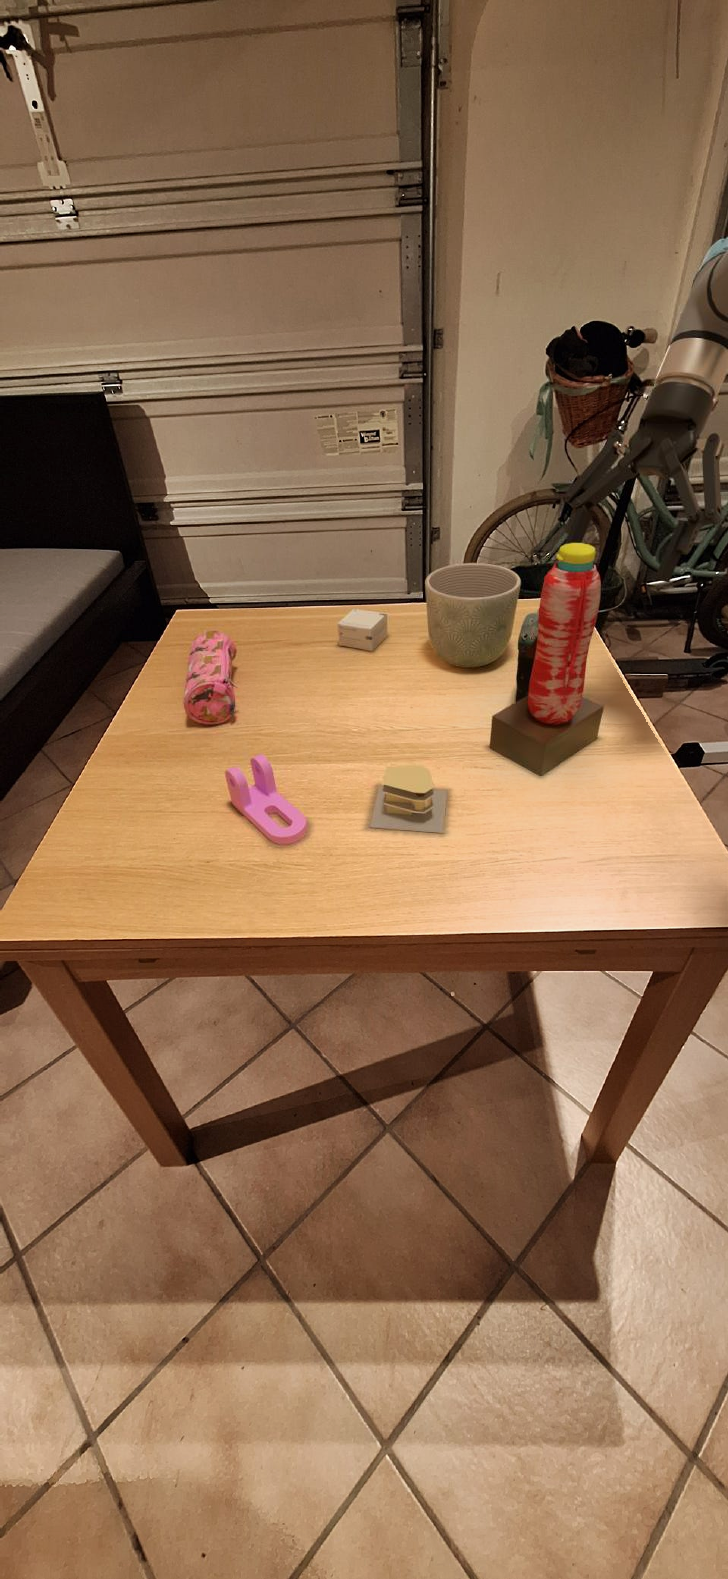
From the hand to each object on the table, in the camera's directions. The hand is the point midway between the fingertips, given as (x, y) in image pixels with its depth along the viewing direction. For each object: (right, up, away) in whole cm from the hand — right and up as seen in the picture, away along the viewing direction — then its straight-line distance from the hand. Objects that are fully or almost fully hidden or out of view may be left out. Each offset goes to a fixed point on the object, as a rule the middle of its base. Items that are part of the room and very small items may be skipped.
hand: (611, 569), depth 82 cm
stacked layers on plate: (-26, -31, +8) cm, 41 cm away
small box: (-32, +2, +49) cm, 58 cm away
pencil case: (-59, -11, +35) cm, 70 cm away
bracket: (-45, -33, +8) cm, 56 cm away
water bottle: (-4, -17, +14) cm, 22 cm away
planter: (-12, -3, +41) cm, 43 cm away
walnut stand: (-4, -21, +18) cm, 28 cm away
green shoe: (-2, -11, +30) cm, 32 cm away
